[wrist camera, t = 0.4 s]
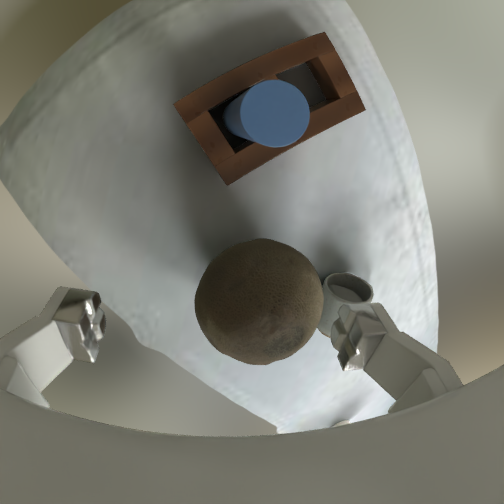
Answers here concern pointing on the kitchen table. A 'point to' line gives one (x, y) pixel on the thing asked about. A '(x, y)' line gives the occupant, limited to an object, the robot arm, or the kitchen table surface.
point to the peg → (268, 114)
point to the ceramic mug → (341, 297)
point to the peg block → (257, 70)
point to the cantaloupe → (259, 301)
